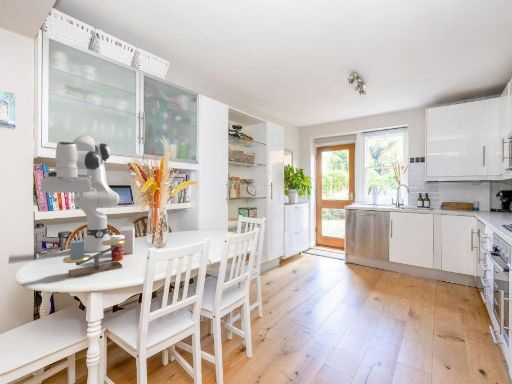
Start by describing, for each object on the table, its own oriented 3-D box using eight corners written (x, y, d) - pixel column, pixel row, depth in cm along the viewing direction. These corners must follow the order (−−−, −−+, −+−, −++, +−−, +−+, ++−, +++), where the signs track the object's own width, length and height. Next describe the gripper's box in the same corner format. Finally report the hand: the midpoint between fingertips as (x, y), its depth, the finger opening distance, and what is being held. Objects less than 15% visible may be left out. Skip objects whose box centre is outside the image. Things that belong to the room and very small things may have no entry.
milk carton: (132, 253, 158) (132, 224, 158) (120, 254, 156) (120, 224, 156) (134, 250, 165) (134, 222, 164) (122, 251, 163) (123, 222, 162)
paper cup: (118, 262, 141) (118, 237, 141) (106, 260, 143) (106, 236, 142) (127, 258, 149) (127, 234, 148) (116, 257, 150) (116, 234, 150)
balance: (61, 273, 122) (61, 245, 122) (122, 262, 141) (122, 238, 140) (64, 280, 114) (64, 250, 114) (128, 267, 133) (128, 241, 132)
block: (70, 257, 122) (70, 241, 121) (82, 255, 125) (82, 239, 125) (71, 259, 118) (71, 243, 118) (84, 257, 122) (84, 241, 121)
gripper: (90, 174, 134) (90, 200, 135) (40, 173, 120) (40, 201, 121) (92, 174, 130) (92, 201, 130) (40, 173, 116) (41, 202, 116)
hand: (67, 201), depth 125 cm, fingers open, 8 cm apart
